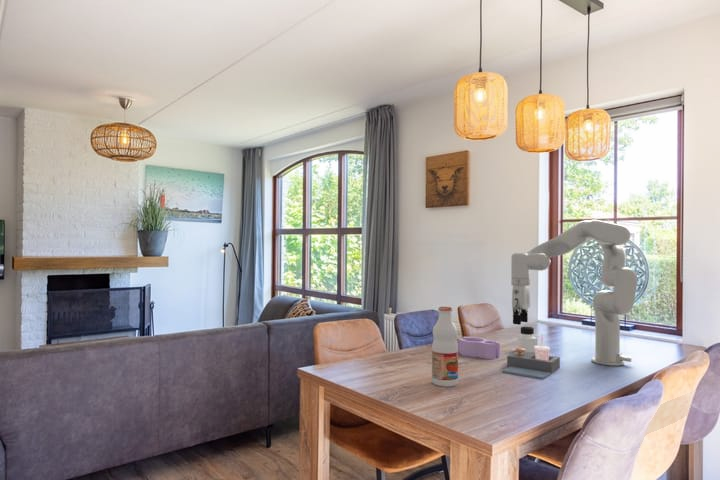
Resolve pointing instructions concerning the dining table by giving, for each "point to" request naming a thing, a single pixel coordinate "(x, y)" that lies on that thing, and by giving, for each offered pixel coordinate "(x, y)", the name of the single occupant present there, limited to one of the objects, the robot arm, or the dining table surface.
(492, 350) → the purple cup holder
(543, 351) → the beverage cup
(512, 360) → the grey desk organizer
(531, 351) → the medicine bottle
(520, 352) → the plunger
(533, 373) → the mat
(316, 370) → the dining table surface
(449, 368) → the fruit juice
